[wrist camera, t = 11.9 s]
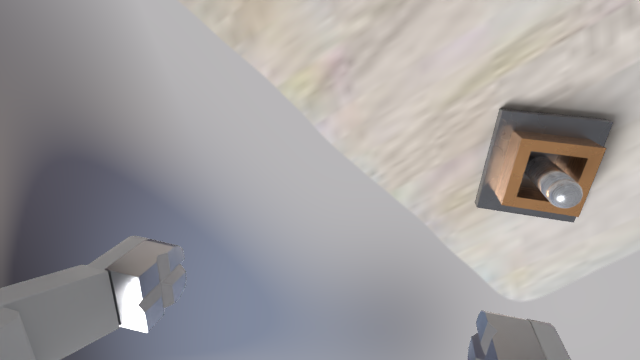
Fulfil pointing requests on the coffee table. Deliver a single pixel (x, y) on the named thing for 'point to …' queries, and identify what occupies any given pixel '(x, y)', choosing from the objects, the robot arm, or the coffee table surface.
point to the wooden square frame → (522, 143)
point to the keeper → (538, 160)
